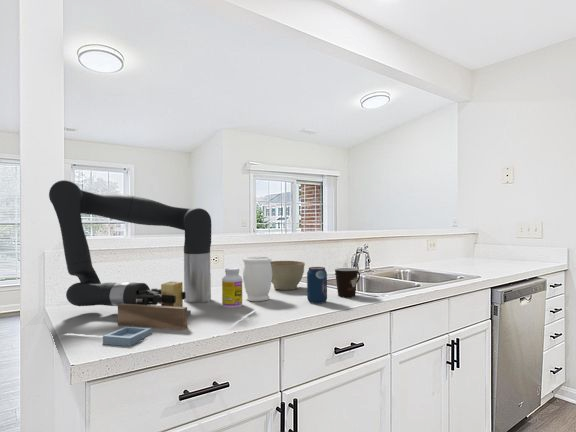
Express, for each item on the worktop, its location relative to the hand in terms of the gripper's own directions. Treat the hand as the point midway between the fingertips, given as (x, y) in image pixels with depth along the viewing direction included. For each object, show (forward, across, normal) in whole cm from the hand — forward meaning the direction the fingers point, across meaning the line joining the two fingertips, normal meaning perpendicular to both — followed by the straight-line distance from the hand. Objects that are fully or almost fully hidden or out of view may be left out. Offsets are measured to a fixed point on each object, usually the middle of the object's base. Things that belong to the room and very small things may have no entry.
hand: (179, 297), depth 116 cm
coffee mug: (+44, +47, +7) cm, 65 cm away
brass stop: (-3, 0, +6) cm, 6 cm away
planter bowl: (+16, +57, +7) cm, 60 cm away
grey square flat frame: (-3, 0, +6) cm, 7 cm away
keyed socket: (-3, -20, +6) cm, 21 cm away
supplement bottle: (+8, +19, +7) cm, 22 cm away
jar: (+12, +33, +7) cm, 36 cm away
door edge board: (-3, -10, +6) cm, 12 cm away
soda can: (+34, +33, +7) cm, 48 cm away
